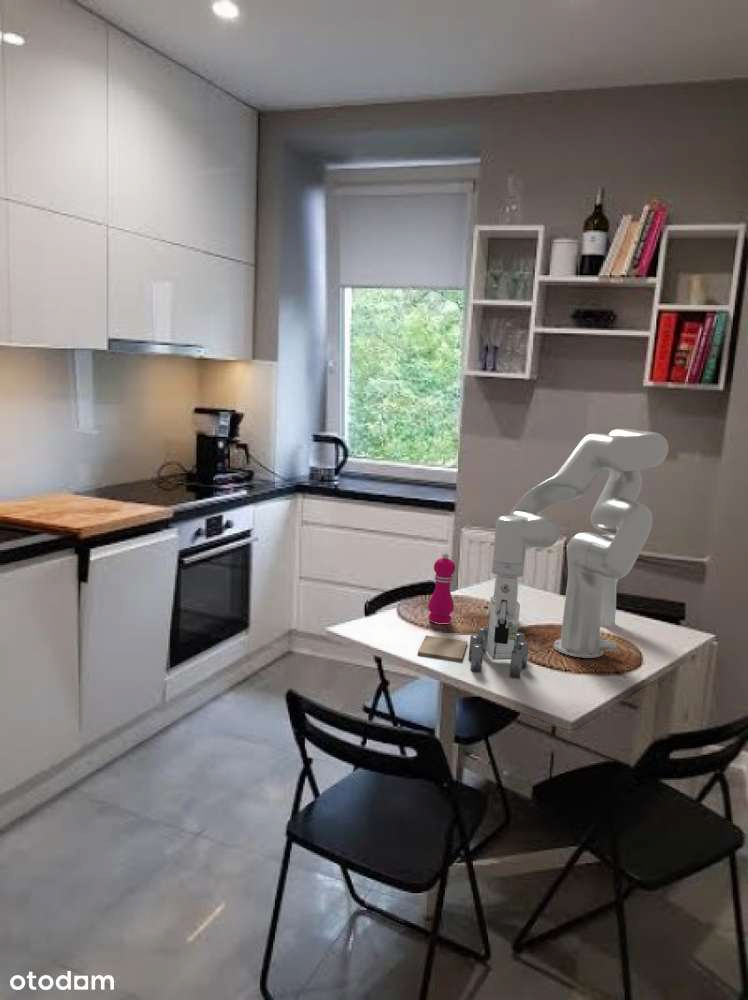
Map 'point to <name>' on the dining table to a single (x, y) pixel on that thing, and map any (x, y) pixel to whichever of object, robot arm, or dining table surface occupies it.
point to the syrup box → (505, 650)
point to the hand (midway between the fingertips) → (501, 637)
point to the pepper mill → (442, 591)
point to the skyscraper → (609, 598)
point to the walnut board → (442, 648)
